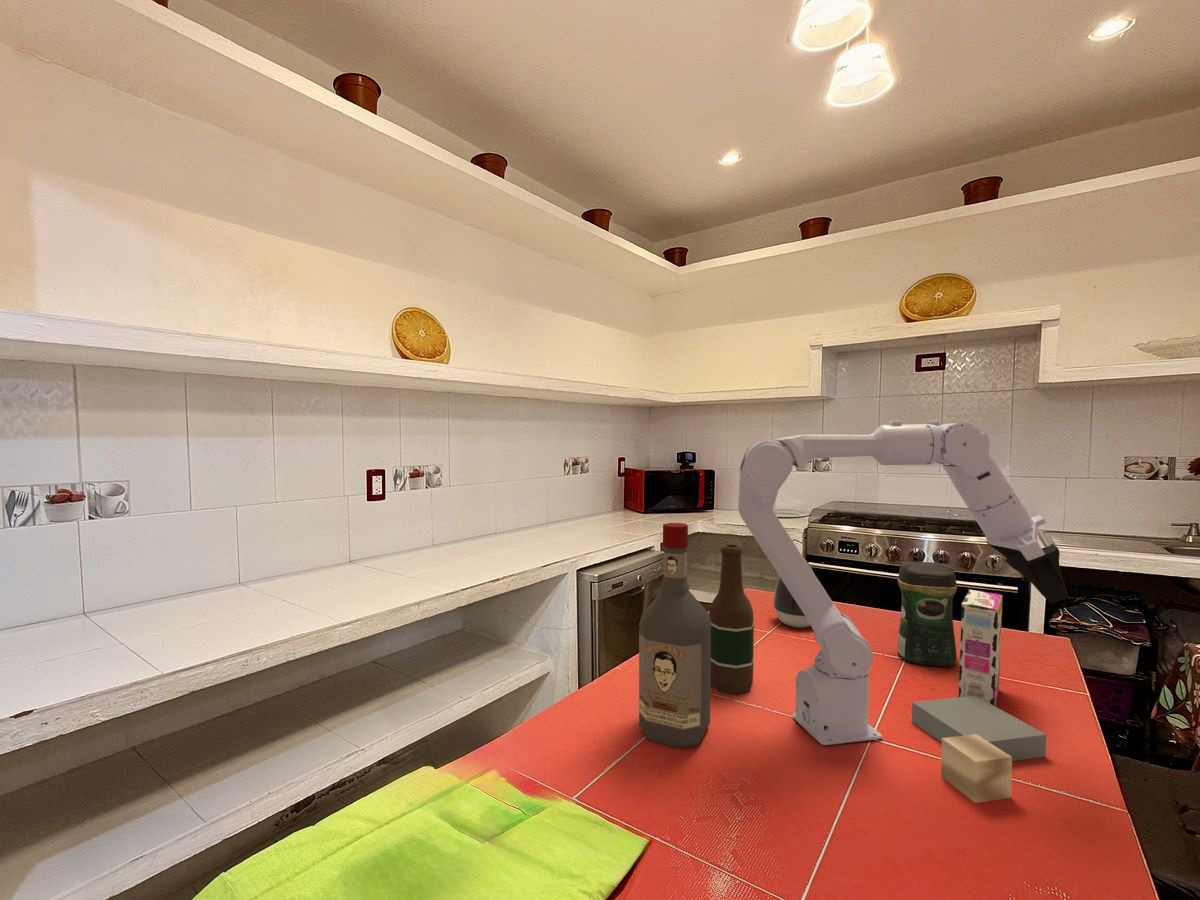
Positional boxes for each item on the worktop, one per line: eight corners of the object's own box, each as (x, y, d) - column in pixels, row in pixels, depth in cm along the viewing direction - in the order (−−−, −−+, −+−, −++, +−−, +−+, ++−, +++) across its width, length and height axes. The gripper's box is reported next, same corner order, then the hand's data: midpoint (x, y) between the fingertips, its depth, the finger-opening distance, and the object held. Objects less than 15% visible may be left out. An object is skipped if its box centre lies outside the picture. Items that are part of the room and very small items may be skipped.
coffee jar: (949, 654, 106) (950, 559, 106) (961, 671, 99) (963, 569, 98) (893, 647, 110) (894, 556, 109) (901, 663, 102) (902, 565, 102)
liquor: (655, 708, 86) (656, 518, 85) (713, 721, 82) (714, 522, 81) (634, 738, 77) (634, 527, 76) (697, 754, 73) (698, 532, 72)
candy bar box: (996, 716, 83) (998, 610, 83) (957, 706, 86) (959, 603, 86) (1001, 689, 92) (1003, 593, 91) (965, 681, 95) (967, 587, 94)
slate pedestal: (974, 766, 71) (975, 743, 71) (911, 721, 82) (912, 702, 81) (1045, 756, 73) (1046, 734, 73) (974, 714, 84) (975, 695, 83)
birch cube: (975, 803, 64) (975, 761, 64) (940, 777, 69) (941, 738, 68) (1011, 798, 65) (1012, 757, 64) (974, 772, 70) (975, 734, 69)
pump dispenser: (763, 622, 124) (763, 556, 124) (790, 613, 131) (791, 550, 130) (803, 635, 116) (804, 565, 116) (830, 625, 122) (831, 558, 122)
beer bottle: (723, 670, 99) (724, 539, 99) (762, 684, 94) (763, 545, 93) (698, 684, 94) (699, 545, 93) (738, 699, 88) (739, 552, 88)
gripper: (1043, 498, 67) (1107, 597, 65) (1006, 478, 80) (1058, 560, 79) (982, 524, 69) (1042, 619, 68) (956, 500, 83) (1006, 579, 81)
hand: (1047, 589), depth 74 cm, fingers open, 7 cm apart
